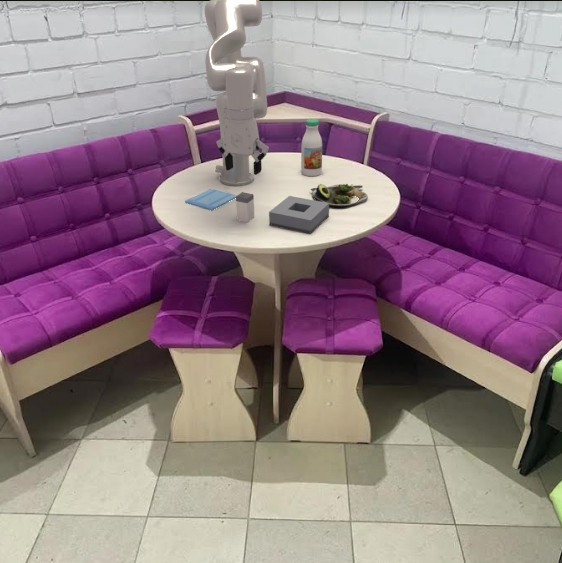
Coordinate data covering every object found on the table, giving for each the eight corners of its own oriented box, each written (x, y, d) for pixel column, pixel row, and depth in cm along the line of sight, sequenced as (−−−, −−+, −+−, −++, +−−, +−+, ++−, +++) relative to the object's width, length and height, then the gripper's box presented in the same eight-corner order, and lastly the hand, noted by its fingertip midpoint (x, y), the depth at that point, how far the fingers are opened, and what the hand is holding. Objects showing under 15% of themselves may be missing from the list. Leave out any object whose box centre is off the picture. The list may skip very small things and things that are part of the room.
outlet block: (269, 225, 174) (269, 211, 172) (289, 208, 185) (289, 195, 183) (310, 233, 169) (310, 220, 166) (328, 216, 179) (329, 203, 177)
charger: (237, 220, 178) (235, 196, 174) (243, 215, 181) (242, 192, 177) (248, 222, 176) (246, 198, 172) (254, 217, 179) (253, 194, 175)
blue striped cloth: (211, 191, 200) (211, 188, 199) (238, 198, 194) (237, 195, 193) (185, 204, 191) (184, 200, 190) (212, 212, 185) (211, 208, 184)
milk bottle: (297, 174, 212) (297, 121, 202) (308, 168, 217) (308, 116, 207) (314, 178, 208) (315, 124, 198) (325, 172, 214) (327, 119, 203)
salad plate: (347, 183, 204) (347, 171, 202) (380, 199, 191) (381, 186, 189) (303, 195, 195) (303, 183, 193) (335, 213, 182) (336, 199, 180)
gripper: (207, 113, 162) (212, 171, 171) (260, 119, 155) (262, 179, 164) (221, 108, 168) (225, 163, 176) (273, 113, 161) (274, 171, 169)
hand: (243, 171), depth 170 cm, fingers open, 9 cm apart
